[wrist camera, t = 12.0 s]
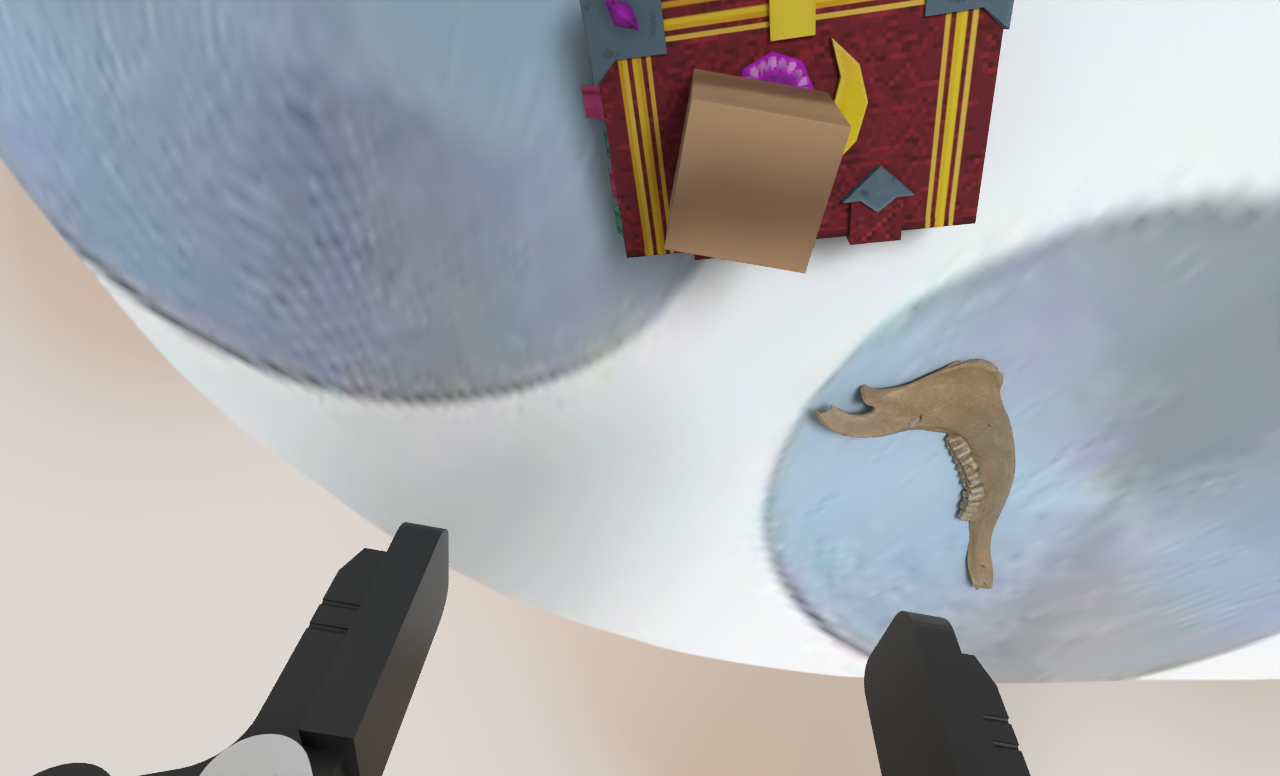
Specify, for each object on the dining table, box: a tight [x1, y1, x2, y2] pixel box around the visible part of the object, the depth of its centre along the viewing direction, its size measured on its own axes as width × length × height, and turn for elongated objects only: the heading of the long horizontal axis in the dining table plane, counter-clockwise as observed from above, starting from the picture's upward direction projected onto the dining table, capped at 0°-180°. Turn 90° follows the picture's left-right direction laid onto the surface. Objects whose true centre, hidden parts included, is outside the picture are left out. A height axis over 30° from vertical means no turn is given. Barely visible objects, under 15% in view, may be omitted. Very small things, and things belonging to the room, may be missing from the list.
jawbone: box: [815, 359, 1015, 590], centre depth 40 cm, size 9×20×2 cm, turn 42°
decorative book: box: [580, 0, 1014, 260], centre depth 27 cm, size 11×16×5 cm
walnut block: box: [665, 68, 851, 273], centre depth 24 cm, size 5×5×5 cm
